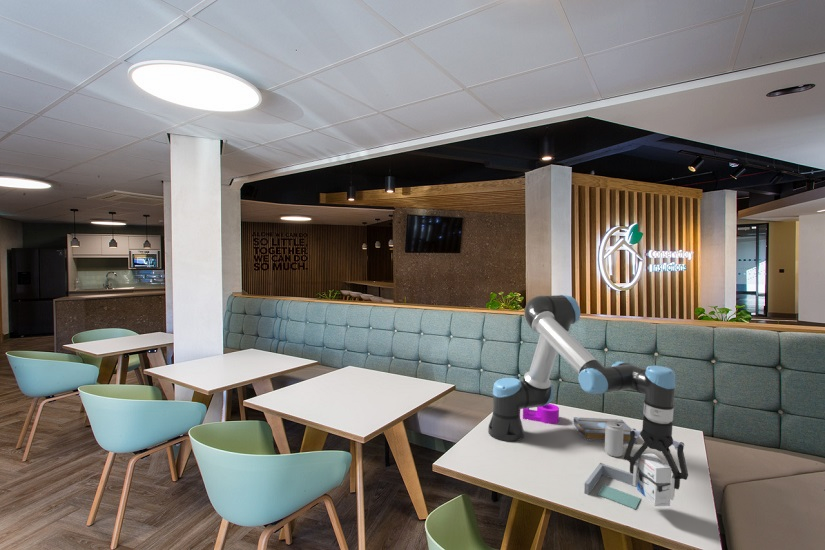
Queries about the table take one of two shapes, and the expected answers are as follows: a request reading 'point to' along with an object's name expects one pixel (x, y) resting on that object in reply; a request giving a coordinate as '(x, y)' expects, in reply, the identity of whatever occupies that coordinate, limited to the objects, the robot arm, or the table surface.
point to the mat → (619, 497)
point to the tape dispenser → (543, 414)
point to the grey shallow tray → (598, 428)
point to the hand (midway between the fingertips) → (653, 490)
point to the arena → (608, 472)
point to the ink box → (654, 479)
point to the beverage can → (614, 439)
